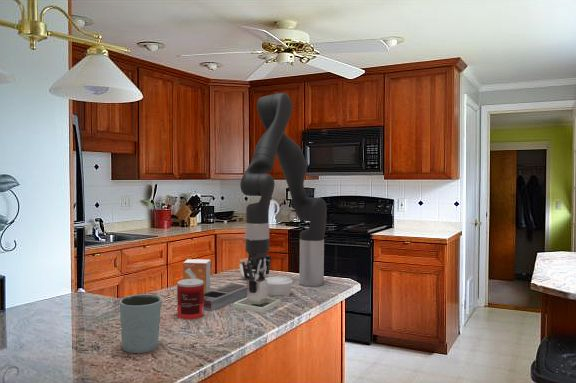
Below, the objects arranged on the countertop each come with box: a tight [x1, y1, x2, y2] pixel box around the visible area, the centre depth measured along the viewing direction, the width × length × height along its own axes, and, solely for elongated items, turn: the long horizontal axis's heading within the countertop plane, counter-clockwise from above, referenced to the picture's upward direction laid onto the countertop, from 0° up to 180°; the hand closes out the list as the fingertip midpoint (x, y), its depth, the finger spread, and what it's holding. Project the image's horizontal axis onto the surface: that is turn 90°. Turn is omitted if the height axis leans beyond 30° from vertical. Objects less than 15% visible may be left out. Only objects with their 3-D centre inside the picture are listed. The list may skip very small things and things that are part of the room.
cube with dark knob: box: [246, 278, 268, 305], centre depth 155 cm, size 5×5×7 cm
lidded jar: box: [239, 257, 259, 279], centre depth 196 cm, size 11×11×9 cm
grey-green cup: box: [118, 293, 163, 354], centre depth 122 cm, size 10×10×12 cm
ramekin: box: [265, 276, 294, 297], centre depth 173 cm, size 11×11×5 cm
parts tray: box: [232, 297, 282, 314], centre depth 156 cm, size 11×11×2 cm
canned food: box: [176, 279, 205, 320], centre depth 145 cm, size 8×8×11 cm
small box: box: [182, 258, 212, 293], centre depth 167 cm, size 8×6×13 cm
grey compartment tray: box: [204, 283, 247, 312], centre depth 161 cm, size 22×8×4 cm, turn 152°
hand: (257, 290), depth 155 cm, fingers closed on cube with dark knob, 4 cm apart
